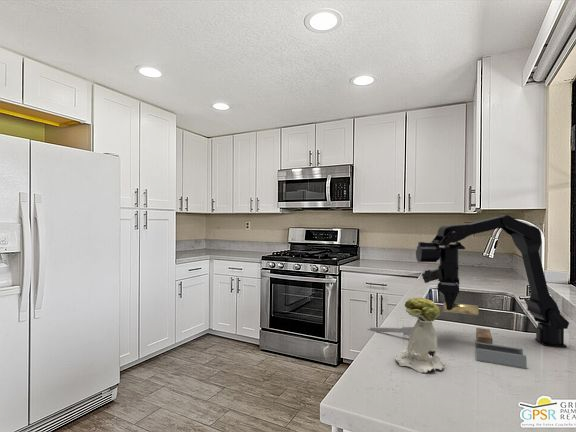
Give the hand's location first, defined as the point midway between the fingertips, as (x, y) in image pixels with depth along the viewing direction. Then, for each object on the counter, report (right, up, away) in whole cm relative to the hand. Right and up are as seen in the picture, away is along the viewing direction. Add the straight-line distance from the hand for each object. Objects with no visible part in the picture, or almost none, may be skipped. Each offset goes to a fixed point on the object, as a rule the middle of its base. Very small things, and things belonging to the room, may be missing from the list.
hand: (449, 308), depth 116 cm
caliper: (-17, -11, +4) cm, 21 cm away
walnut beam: (+10, -11, -4) cm, 15 cm away
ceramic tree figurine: (-17, -11, -19) cm, 28 cm away
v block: (+7, -11, -16) cm, 20 cm away
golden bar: (+3, -1, -1) cm, 4 cm away
